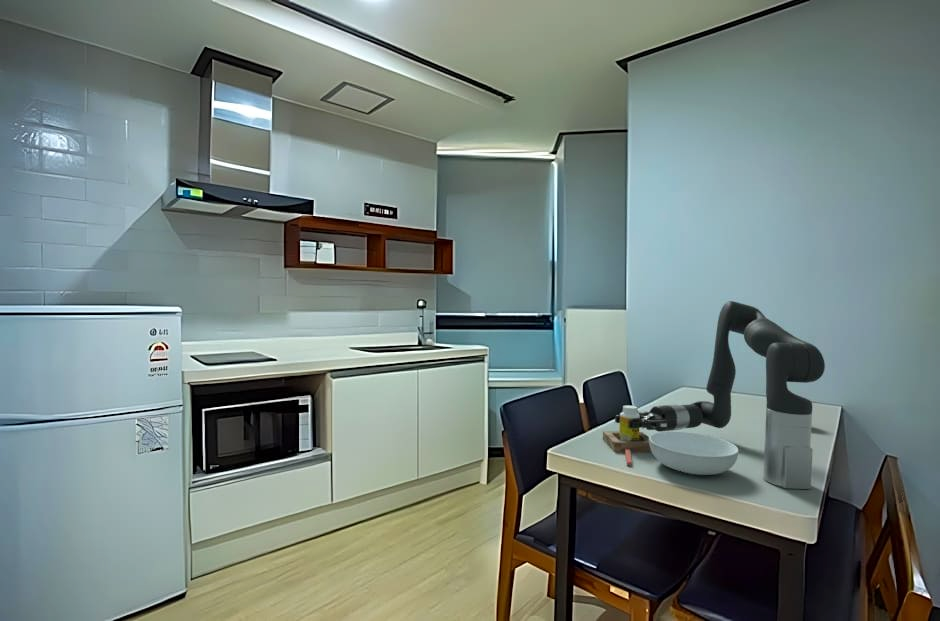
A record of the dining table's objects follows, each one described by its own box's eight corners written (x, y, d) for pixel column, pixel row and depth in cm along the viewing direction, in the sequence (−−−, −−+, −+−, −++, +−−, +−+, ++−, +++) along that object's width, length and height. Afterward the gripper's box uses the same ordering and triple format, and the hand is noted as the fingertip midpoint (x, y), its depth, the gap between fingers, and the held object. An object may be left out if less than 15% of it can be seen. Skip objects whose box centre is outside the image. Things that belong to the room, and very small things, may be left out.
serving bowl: (646, 475, 124) (647, 447, 124) (649, 452, 143) (650, 427, 143) (742, 490, 116) (744, 460, 116) (732, 462, 136) (733, 437, 135)
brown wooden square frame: (656, 452, 143) (657, 443, 143) (613, 451, 143) (614, 442, 142) (642, 440, 155) (642, 432, 155) (602, 439, 155) (603, 431, 154)
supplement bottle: (633, 445, 145) (634, 409, 144) (615, 441, 149) (616, 406, 148) (642, 441, 149) (643, 407, 148) (625, 437, 153) (626, 403, 152)
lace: (631, 466, 130) (631, 462, 130) (626, 465, 130) (626, 461, 130) (629, 452, 142) (629, 449, 142) (625, 452, 142) (625, 448, 142)
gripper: (653, 400, 160) (607, 403, 154) (687, 410, 146) (638, 414, 141) (652, 424, 160) (607, 428, 154) (686, 436, 147) (638, 441, 141)
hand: (622, 421), depth 148 cm, fingers closed on supplement bottle, 5 cm apart
